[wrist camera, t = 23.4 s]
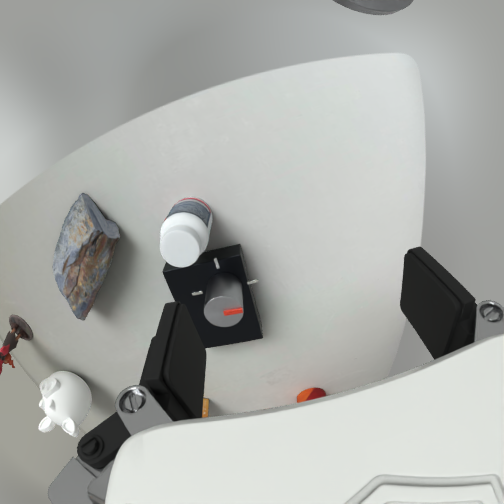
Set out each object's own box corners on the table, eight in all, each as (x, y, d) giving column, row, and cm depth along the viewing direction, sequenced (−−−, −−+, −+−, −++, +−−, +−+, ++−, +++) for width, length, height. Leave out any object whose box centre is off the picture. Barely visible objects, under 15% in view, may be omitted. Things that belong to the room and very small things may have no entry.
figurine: (12, 337, 43) (-17, 385, 30) (7, 309, 40) (-29, 359, 27) (35, 350, 45) (7, 401, 32) (31, 323, 42) (-4, 377, 28)
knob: (212, 304, 37) (209, 331, 32) (203, 275, 35) (198, 301, 30) (245, 298, 37) (246, 325, 32) (238, 269, 35) (239, 295, 30)
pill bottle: (167, 198, 33) (148, 225, 25) (210, 194, 33) (202, 220, 26) (174, 238, 36) (159, 274, 28) (214, 234, 36) (209, 271, 28)
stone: (65, 189, 29) (114, 236, 29) (89, 186, 34) (137, 228, 34) (38, 284, 35) (78, 328, 35) (58, 274, 39) (97, 315, 39)
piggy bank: (63, 351, 45) (35, 409, 32) (106, 385, 50) (88, 444, 36) (43, 368, 48) (20, 417, 34) (81, 397, 52) (64, 448, 39)
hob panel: (166, 258, 37) (161, 270, 34) (249, 239, 36) (250, 250, 34) (199, 336, 43) (197, 350, 41) (269, 323, 43) (272, 337, 40)
